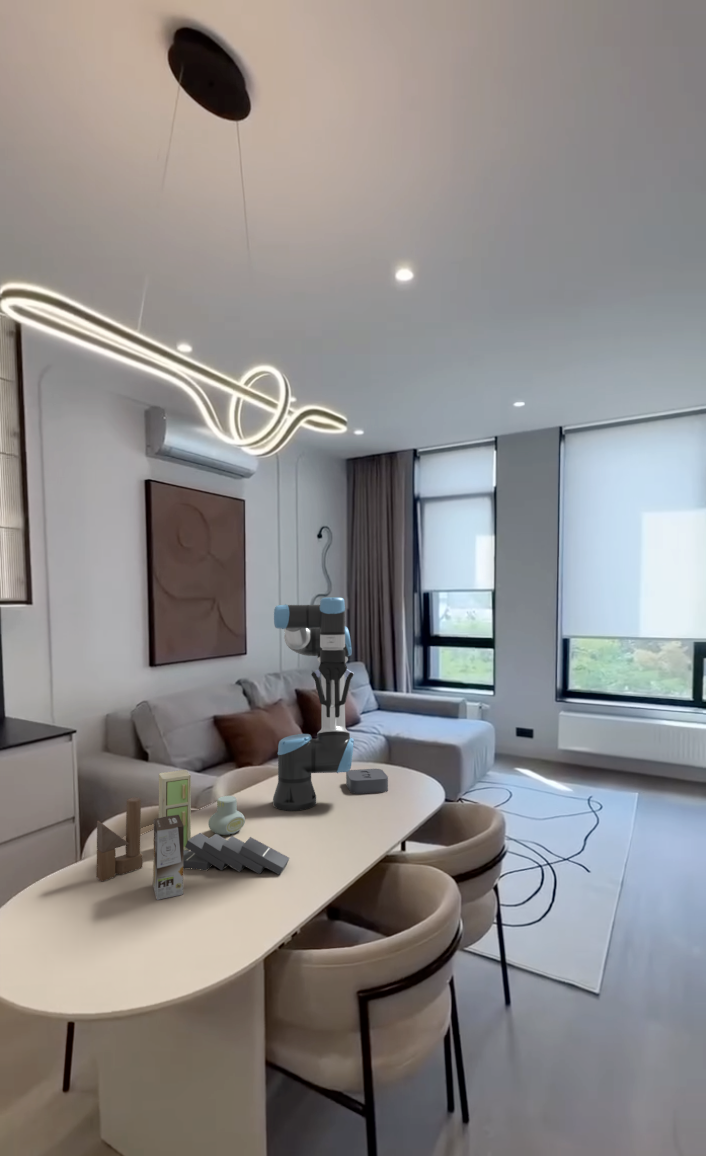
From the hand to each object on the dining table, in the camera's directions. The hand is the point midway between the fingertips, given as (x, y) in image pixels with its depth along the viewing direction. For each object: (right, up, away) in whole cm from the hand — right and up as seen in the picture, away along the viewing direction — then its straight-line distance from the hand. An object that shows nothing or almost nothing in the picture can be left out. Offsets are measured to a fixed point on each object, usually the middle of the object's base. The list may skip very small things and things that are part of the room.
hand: (333, 728), depth 170 cm
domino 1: (-32, -31, -18) cm, 48 cm away
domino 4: (-17, -30, -21) cm, 41 cm away
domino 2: (-27, -31, -19) cm, 45 cm away
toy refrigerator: (-45, -33, -7) cm, 56 cm away
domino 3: (-22, -30, -20) cm, 43 cm away
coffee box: (-39, -31, -31) cm, 59 cm away
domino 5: (-12, -30, -21) cm, 39 cm away
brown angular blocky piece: (-55, -32, -22) cm, 67 cm away
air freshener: (-33, -33, +5) cm, 47 cm away
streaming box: (+11, -36, +48) cm, 61 cm away
